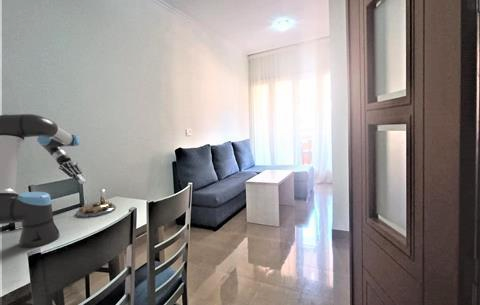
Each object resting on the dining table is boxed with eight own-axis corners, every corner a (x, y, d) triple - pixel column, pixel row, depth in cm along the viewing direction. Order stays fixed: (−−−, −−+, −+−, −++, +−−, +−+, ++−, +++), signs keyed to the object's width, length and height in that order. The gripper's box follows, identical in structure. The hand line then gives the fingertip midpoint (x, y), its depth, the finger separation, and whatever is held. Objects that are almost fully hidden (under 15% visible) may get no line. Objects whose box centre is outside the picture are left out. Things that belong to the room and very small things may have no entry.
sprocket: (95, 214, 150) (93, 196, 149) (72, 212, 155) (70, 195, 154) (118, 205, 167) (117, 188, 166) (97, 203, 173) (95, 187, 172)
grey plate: (95, 218, 148) (95, 216, 148) (67, 216, 154) (67, 213, 154) (123, 206, 169) (123, 204, 169) (97, 205, 175) (97, 202, 175)
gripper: (68, 160, 180) (89, 184, 177) (49, 163, 167) (71, 188, 164) (73, 152, 178) (94, 176, 175) (54, 155, 165) (76, 181, 162)
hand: (83, 182), depth 169 cm, fingers closed
